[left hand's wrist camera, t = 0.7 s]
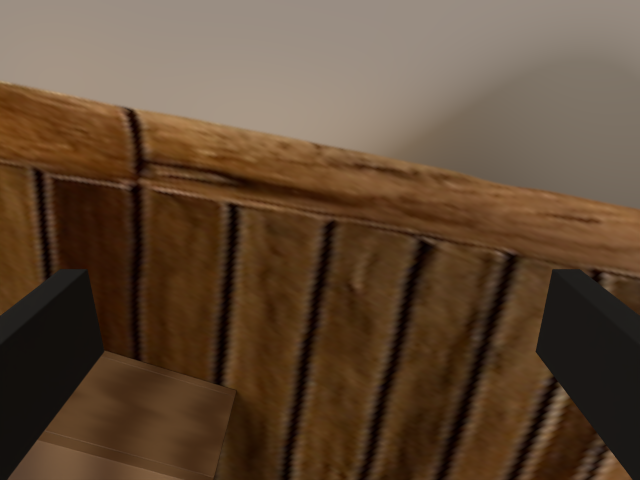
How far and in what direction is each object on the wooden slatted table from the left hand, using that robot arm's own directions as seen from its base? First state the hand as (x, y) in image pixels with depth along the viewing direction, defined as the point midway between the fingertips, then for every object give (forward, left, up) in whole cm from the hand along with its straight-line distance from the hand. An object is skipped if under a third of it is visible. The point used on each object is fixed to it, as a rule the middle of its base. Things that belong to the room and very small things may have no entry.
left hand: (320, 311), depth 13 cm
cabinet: (-28, +16, -27) cm, 42 cm away
